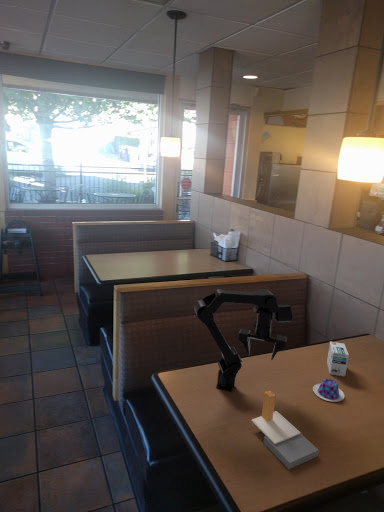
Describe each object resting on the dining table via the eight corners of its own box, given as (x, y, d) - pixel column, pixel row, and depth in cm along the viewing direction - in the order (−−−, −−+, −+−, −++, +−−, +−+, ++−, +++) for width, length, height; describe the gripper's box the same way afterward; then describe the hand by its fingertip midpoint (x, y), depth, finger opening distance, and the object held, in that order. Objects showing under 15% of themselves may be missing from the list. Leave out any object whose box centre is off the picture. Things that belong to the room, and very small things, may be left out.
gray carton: (263, 442, 124) (264, 436, 123) (291, 431, 130) (291, 425, 129) (288, 469, 114) (289, 462, 113) (317, 456, 120) (318, 449, 119)
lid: (251, 420, 130) (254, 395, 127) (276, 412, 135) (279, 387, 132) (274, 444, 120) (278, 417, 117) (300, 434, 125) (304, 407, 122)
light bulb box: (345, 377, 164) (349, 354, 161) (329, 374, 165) (333, 352, 163) (341, 364, 174) (345, 343, 171) (326, 362, 176) (329, 341, 173)
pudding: (308, 394, 151) (310, 383, 150) (318, 381, 161) (320, 370, 159) (338, 407, 144) (341, 395, 143) (347, 392, 154) (350, 381, 152)
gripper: (289, 317, 154) (285, 352, 158) (243, 310, 158) (240, 344, 163) (288, 329, 143) (283, 366, 147) (239, 321, 148) (235, 356, 152)
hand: (260, 357), depth 153 cm, fingers open, 9 cm apart
